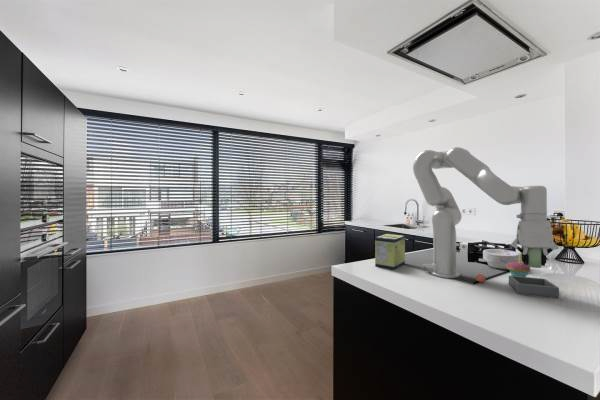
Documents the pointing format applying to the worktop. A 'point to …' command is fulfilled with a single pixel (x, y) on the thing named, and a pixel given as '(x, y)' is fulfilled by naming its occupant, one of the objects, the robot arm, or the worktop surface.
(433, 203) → the robot arm
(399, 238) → the protein box
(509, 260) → the paper bowls
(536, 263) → the cucumber chunk
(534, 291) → the bin
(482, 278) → the tomato ball
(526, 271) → the cupcake
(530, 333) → the worktop surface
